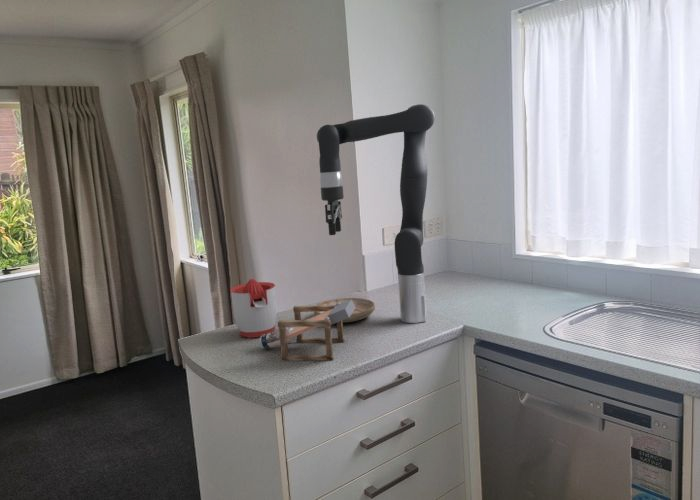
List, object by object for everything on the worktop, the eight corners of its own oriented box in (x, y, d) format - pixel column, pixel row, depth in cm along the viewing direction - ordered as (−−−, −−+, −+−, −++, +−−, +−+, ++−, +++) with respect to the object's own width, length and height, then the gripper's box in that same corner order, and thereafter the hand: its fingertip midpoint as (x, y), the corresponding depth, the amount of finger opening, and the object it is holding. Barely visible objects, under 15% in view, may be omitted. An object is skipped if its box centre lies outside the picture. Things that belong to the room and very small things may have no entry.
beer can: (288, 333, 172) (256, 341, 176) (295, 345, 174) (263, 352, 178) (293, 324, 176) (261, 332, 180) (299, 335, 178) (268, 343, 182)
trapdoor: (356, 306, 177) (352, 298, 177) (348, 319, 163) (343, 310, 163) (302, 328, 182) (298, 320, 182) (289, 342, 168) (285, 333, 168)
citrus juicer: (241, 344, 185) (235, 286, 182) (231, 331, 201) (225, 278, 198) (286, 336, 191) (281, 279, 188) (272, 324, 207) (267, 271, 204)
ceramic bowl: (302, 325, 203) (301, 312, 202) (333, 308, 224) (332, 296, 223) (358, 330, 192) (357, 316, 192) (385, 311, 213) (385, 299, 212)
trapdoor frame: (344, 340, 182) (341, 302, 180) (332, 360, 165) (329, 318, 162) (297, 340, 185) (294, 303, 183) (281, 360, 168) (277, 318, 166)
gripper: (338, 186, 178) (341, 235, 181) (346, 183, 192) (350, 229, 195) (315, 187, 180) (319, 236, 182) (325, 185, 194) (329, 230, 196)
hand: (335, 233), depth 189 cm, fingers open, 8 cm apart
